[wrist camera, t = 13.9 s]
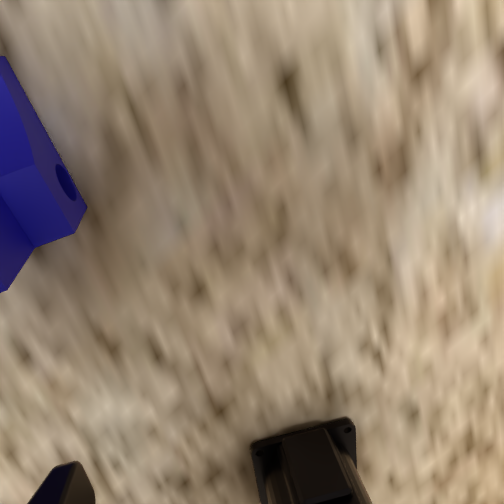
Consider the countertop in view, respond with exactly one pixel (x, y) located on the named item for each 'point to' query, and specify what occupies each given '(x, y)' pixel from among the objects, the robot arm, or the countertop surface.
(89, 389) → the countertop surface
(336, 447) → the robot arm
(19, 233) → the cable clip
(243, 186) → the countertop surface
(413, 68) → the countertop surface
